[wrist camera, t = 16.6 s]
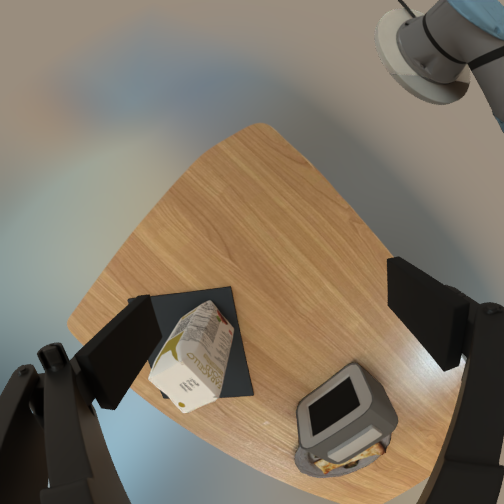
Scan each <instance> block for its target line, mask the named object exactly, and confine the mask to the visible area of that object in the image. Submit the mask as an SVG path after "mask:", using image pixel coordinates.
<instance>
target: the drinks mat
mask: <svg viewBox="0 0 504 504" xmlns="http://www.w3.org/2000/svg"><path fill="white" fill-rule="evenodd" d="M150 298H151V301H152V305H153V308H154V311H155V315H156V318H157V321H158V324H159V327H160V330H161V333H162V339H161V340H160V342H159V343H158V345H157V346H156V348H155V349H154V351H153V352H152V354H151V355H150V357H149V359H148V362H149V364H150V367H151V369H152V366H153V364H154V361H155V359H156V357H157V356H158V354H159V352H160V351H161V349H162V348H163V346H164V344H165V343H166V341H167V339H168V338H169V336H170V335H171V333H172V331H173V330H174V328H175V327H176V325H177V323H178V322H179V320H180V319H181V318H182V317H183V316H184V315H186V314H187V313H189V312H190V311H192V310H193V309H195V308H196V307H198V306H199V305H201V304H203V303H205V302H207V301H209V300H211V301H212V302H213V303H214V305H215V306H216V307H217V308H218V310H219V311H220V313H221V314H222V315H223V316H224V318H225V319H226V320H227V321H228V322H229V323H230V324H231V325H232V327H233V328H234V333H233V339H232V344H231V348H230V353H229V357H228V362H227V366H226V371H225V375H224V380H223V384H222V389H221V393H220V396H219V398H225V397H240V396H253V395H254V393H253V388H252V384H251V379H250V375H249V370H248V366H247V361H246V357H245V352H244V348H243V343H242V338H241V334H240V329H239V324H238V319H237V314H236V310H235V305H234V300H233V295H232V290H231V286H230V287H223V288H215V289H207V290H200V291H192V292H184V293H175V294H167V295H158V296H150ZM134 299H135V298H131V299H128V303H129V304H130V303H131V302H132V301H133V300H134ZM160 391H161V390H160ZM161 394H162V396H163V398H166V399H170V398H169V397H168V396H167V395H166V394H165V393H163V392H162V391H161Z"/></svg>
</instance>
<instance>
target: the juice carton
mask: <svg viewBox="0 0 504 504" xmlns="http://www.w3.org/2000/svg"><path fill="white" fill-rule="evenodd" d="M233 333H234V328H233V327H232V325H231V324H230V323H229V322H228V321H227V320H226V319H225V318H224V316H223V315H222V314H221V313H220V311H219V310H218V308H217V307H216V306H215V305H214V303H213V302H212V301H211V300H209V301H207V302H205V303H203V304H201V305H199V306H198V307H196V308H195V309H193V310H192V311H190V312H189V313H187V314H186V315H184V316H183V317H182V318H181V319H180V320H179V322H178V323H177V325H176V327H175V328H174V330H173V331H172V333H171V335H170V336H169V338H168V339H167V341H166V343H165V344H164V346H163V348H162V349H161V351H160V352H159V354H158V356H157V357H156V359H155V361H154V364H153V366H152V369H151V372H150V375H149V378H148V380H149V381H151V382H152V383H153V384H154V385H155V386H156V387H157V388H158V389H160V390H161V391H162V392H163V393H165V394H166V395H167V396H168V397H169V398H170V399H171V400H172V402H173V403H174V404H175V405H176V406H177V407H178V408H179V409H180V410H181V411H182V413H189V412H191V411H193V410H195V409H197V408H199V407H201V406H203V405H206V404H209V403H211V402H214V401H216V399H218V398H219V396H220V393H221V389H222V384H223V380H224V375H225V371H226V366H227V362H228V357H229V353H230V348H231V344H232V339H233Z"/></svg>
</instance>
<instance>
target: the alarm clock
mask: <svg viewBox="0 0 504 504" xmlns="http://www.w3.org/2000/svg"><path fill="white" fill-rule="evenodd" d="M296 418H297V428H298V438H299V445H300V447H301V448H302V449H304V450H305V451H307V452H309V453H311V454H313V455H315V456H317V457H319V458H321V459H323V460H325V461H327V462H329V463H332V464H338V465H339V464H342V463H345V462H347V461H348V460H350V459H352V458H354V457H355V456H357V455H359V454H360V453H362V452H363V451H365V450H367V449H368V448H370V447H371V446H373V445H375V444H376V443H378V442H379V441H381V440H382V439H384V438H385V437H386V436H388V435H389V434H391V433H392V432H393V431H394V430H395V428H396V426H397V424H398V416H397V414H396V412H395V410H394V408H393V406H392V404H391V402H390V400H389V398H388V396H387V394H386V392H385V390H384V388H383V386H382V385H381V384H380V383H379V382H378V381H377V380H376V379H375V378H373V377H372V376H371V375H370V374H369V373H368V372H367V371H366V370H364V369H363V368H362V367H361V366H360V365H359V364H358V363H350V364H348V365H347V366H345V367H344V368H343V369H341V370H340V371H339V372H338V373H336V374H335V375H334V376H332V377H331V378H330V379H329V380H327V381H326V382H325V383H323V384H322V385H321V386H319V387H318V388H317V389H315V390H314V391H313V392H311V393H310V394H308V395H307V396H306V397H304V398H303V399H302V400H301V401H300V403H299V405H298V406H297V410H296Z"/></svg>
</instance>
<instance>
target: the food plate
mask: <svg viewBox="0 0 504 504" xmlns="http://www.w3.org/2000/svg"><path fill="white" fill-rule="evenodd" d="M390 440H391V434H389V435H388V436H386V437H385V438H384V439H382V440H381V441H379V442H378V443H376V444H375V445H373V446H371V447H370V448H368V449H367V450H365V451H363V452H362V453H360V454H359V455H357V456H355V457H354V458H352V459H350V460H348V461H347V462H345V463H342V464H339V465H338V464H332V463H329V462H327V461H325V460H323V459H321V458H319V457H317V456H315V455H313V454H311V453H309V452H307V451H305V450H304V449H302V448H301V447H300V446H299V448H298V451H297V452H296V454H295V464H296V466H297V467H298V469H299V470H300V472H301V473H304V474H307V475H309V476H312V477H317V478H327V477H336V476H337V477H339V476H340V475H341V476H343V474H344V475H346V474H349V473H351V472H354V471H357V469H358V470H359V469H361V468H364V467H366V466H367V465H369V464H371V463H372V462H374V461H375V460H376V459H377V458H378V457H379V456H381V455H383V454H384V453H386V448H387V446H388V445H389V444H390Z"/></svg>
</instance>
